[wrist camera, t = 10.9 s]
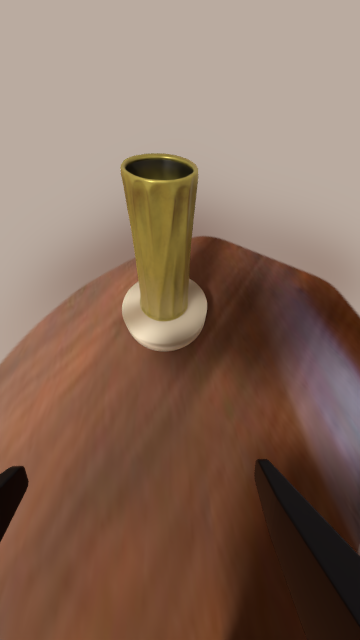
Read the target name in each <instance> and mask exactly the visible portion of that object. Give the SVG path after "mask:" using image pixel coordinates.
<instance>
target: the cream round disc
mask: <svg viewBox="0 0 360 640" xmlns="http://www.w3.org/2000/svg"><path fill="white" fill-rule="evenodd" d="M206 313H207V300H206V297H205V294H204V292H203V291H202V289H201V288H200V287H199V286H198V285H197V284H196V283H195V282H194V281H192V280H191V279H189V287H188V307H187V309H186V311H185V312H184V314H183V315H182V316H180V317H179V318H177V319H174V320H171V321H156V320H153V319H151V318H149V317H148V316H147V315H145V314H144V312H143V311H142V310H141V307H140V288H139V281H138V282H137V283H136V284H134V285H133V286H132V287H131V288H130V290H129V291H128V292H127V294H126V296H125V298H124V301H123V305H122V314H123V319H124V321H125V323H126V325H127V327H128V329H129V331H130V333H131V335H132V336H133V337H134V339H135V340H136V341H137V342H138V343H140V344H141V345H143V346H144V347H146V348H149V349H152V350H155V351H174V350H178V349H181V348H183V347H185V346H187V345H189V344H190V343H191V342H193V341H194V340H195V339H196V338H197V337H198V335H199V334H200V332H201V331H202V329H203V326H204V322H205V318H206Z"/></svg>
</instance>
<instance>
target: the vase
mask: <svg viewBox="0 0 360 640" xmlns="http://www.w3.org/2000/svg"><path fill="white" fill-rule="evenodd" d="M121 176H122V180H123V185H124V191H125V197H126V202H127V209H128V214H129V219H130V225H131V231H132V237H133V244H134V250H135V257H136V265H137V273H138V281H139V288H140V307H141V310H142V311H143V312H144V314H145V315H147V316H148V317H149V318H151V319H153V320H156V321H171V320H174V319H177V318H179V317H180V316H182V315H183V314H184V312H185V311H186V309H187V307H188V287H189V270H190V251H191V239H192V230H193V219H194V210H195V201H196V192H197V184H198V168H197V166H196V165H195V164H194V163H193V162H191V161H190V160H188V159H186V158H183V157H179V156H176V155H170V154H158V153H157V154H142V155H136V156H132V157H129V158H127V159H125V160H124V161H123V163H122V164H121Z"/></svg>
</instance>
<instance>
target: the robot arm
mask: <svg viewBox="0 0 360 640" xmlns="http://www.w3.org/2000/svg"><path fill="white" fill-rule="evenodd" d="M255 482H256V486H257V490H258V493H259V497H260V501H261V504H262V508H263V512H264V515H265V519H266V523H267V526H268V530H269V533H270V537H271V540H272V543H273V546H274V549H275V551H276V554H277V557H278V560H279V562H280V565H281V568H282V571H283V574H284V576H285V579H286V582H287V585H288V588H289V590H290V593H291V596H292V599H293V602H294V604H295V607H296V610H297V613H298V616H299V618H300V621H301V624H302V627H303V629H304V632H305V635H306V638H307V640H360V556H359V555H358V554H357V553H356V552H355V551H354V550H353V549H352V548H351V547H350V545H349V544H348V543H347V542H346V541H345V540H344V539H343V538H342V537H341V536H340V535H339V534H338V533H337V532H336V531H335V530H334V529H333V528H332V527H331V525H330V524H329V523H328V522H327V521H326V520H325V519H324V518H323V517H322V516H321V515H320V514H319V513H318V512H317V511H316V510H315V509H314V508H313V507H312V506H311V504H310V503H309V502H308V501H307V500H306V499H305V498H304V497H303V496H302V495H301V494H300V493H299V492H298V491H297V490H296V489H295V488H294V487H293V486H292V484H291V483H290V482H289V481H288V480H287V479H286V478H285V477H284V476H283V475H282V474H281V473H280V472H279V471H278V470H277V469H276V468H275V467H274V466H273V465H272V463H271V462H270V461H269V460H267V459H257V460H256V465H255ZM27 487H28V478H27V474H26V471H25V468H24V467H23V466H12V467H10V468H8V469H7V470H5V471H4V472H3V473H1V474H0V542H1V540H2V538H3V536H4V534H5V532H6V530H7V528H8V526H9V524H10V522H11V520H12V518H13V516H14V514H15V512H16V510H17V508H18V506H19V504H20V502H21V500H22V498H23V496H24V494H25V492H26V489H27Z"/></svg>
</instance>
